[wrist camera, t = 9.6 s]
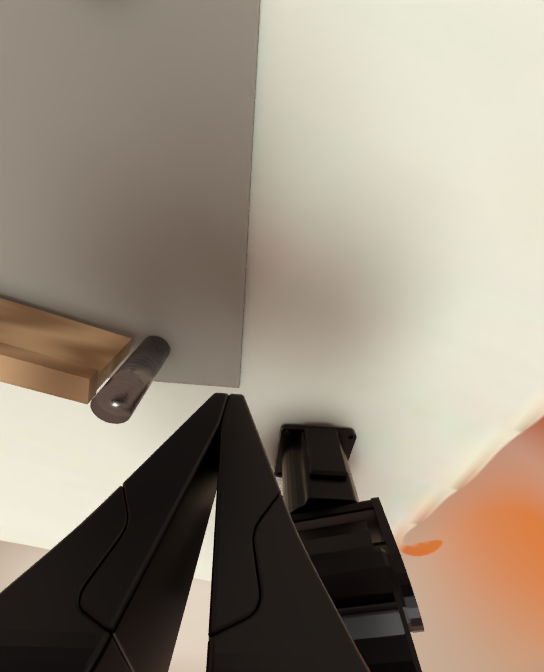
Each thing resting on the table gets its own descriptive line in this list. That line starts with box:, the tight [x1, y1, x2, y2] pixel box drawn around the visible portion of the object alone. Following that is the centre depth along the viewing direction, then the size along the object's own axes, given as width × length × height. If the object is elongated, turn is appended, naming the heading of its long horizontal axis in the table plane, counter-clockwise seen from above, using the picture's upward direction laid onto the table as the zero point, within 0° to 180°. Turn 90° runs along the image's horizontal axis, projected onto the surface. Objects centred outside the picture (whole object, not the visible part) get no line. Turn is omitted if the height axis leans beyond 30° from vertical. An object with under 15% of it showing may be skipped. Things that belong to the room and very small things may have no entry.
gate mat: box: [0, 0, 260, 388], centre depth 15 cm, size 24×22×1 cm
